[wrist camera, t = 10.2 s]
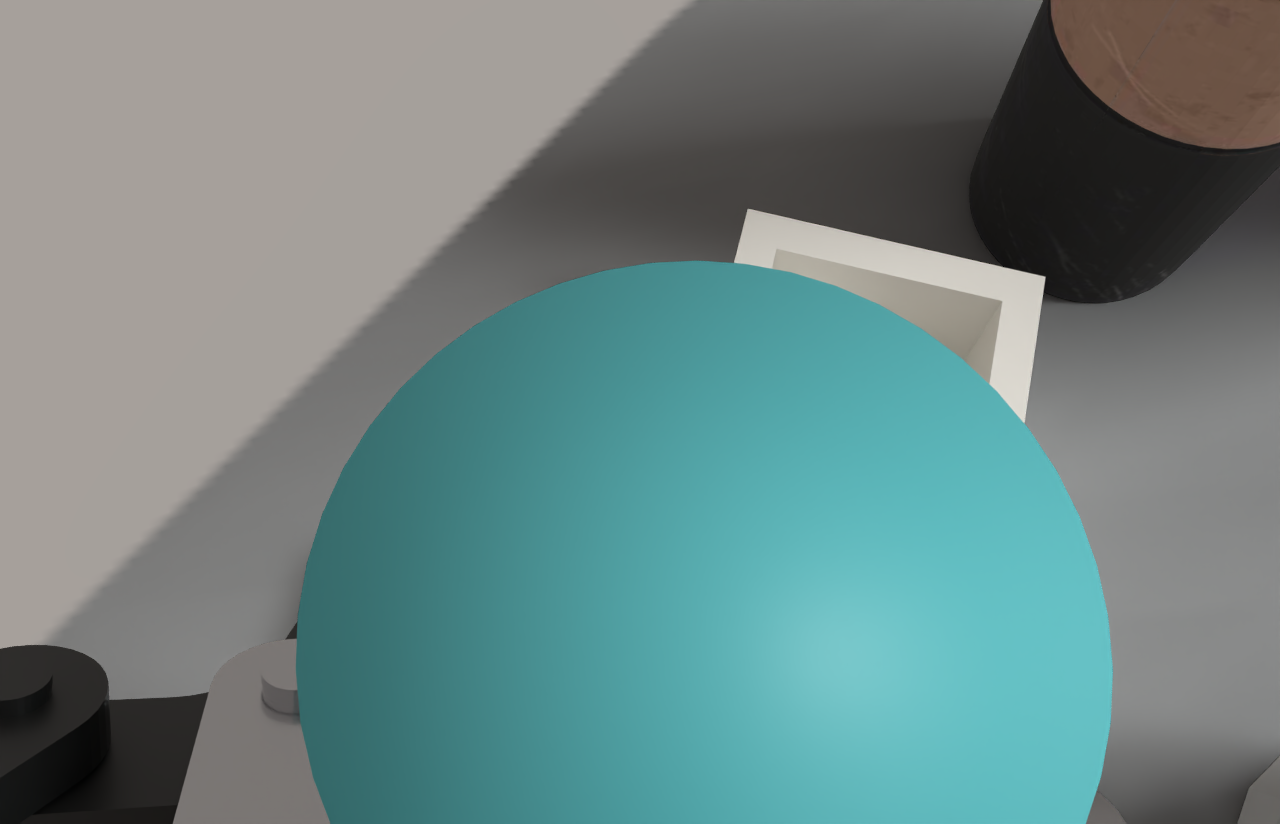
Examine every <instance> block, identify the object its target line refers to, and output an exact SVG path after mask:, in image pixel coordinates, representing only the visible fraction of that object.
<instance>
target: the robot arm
mask: <svg viewBox="0 0 1280 824" xmlns="http://www.w3.org/2000/svg"><path fill="white" fill-rule="evenodd" d="M297 623H298V621H297ZM297 623H296V624H295V626H294V627H293V629H292V630H291V632H290V633H289V635H288V636H287V638H286V639H285V640H279V641H274V642H269V643H265V644H262V645H259V646H256V647H253V648H250V649H248V650H246V651H244V652H242V653H240V654H238V655H236V656H235V657H233V658H232V659H230V660H229V661H228V662H227V663H226V664H225V665H223V666H222V667H221V668H220V670H219V671H218V672H217V674H216V675H215V676H214V679H213V681H212V683H211V686H210V690H209V692H208V693H203V694H197V695H192V696H183V697H170V698H147V699H125V700H109V686H108V679H107V675H106V673H105V671H104V670H103V668H102V667H101V665H99V664H98V663H97V662H96V661H95V660H94V659H92V658H90V657H89V656H87V655H85V654H83V653H80V652H78V651H75V650H72V649H67V648H63V647H57V646H47V645H25V646H14V647H8V648H3V649H0V824H330V821H329V819H328V816H327V813H326V811H325V808H324V805H323V803H322V800H321V797H320V795H319V792H318V790H317V787H316V784H315V782H314V779H313V775H312V771H311V766H310V762H309V758H308V753H307V749H306V745H305V740H304V736H303V732H302V727H301V722H300V711H299V700H298V690H297V679H296V647H297ZM1086 824H1126V822H1125V820H1124V819H1123V817H1122V816H1121V814H1120V813H1119V812H1118V810H1117V809H1116V808H1115V807H1114V806H1113V804H1112V803H1111V802H1110V801H1108V800H1107V799H1106V798H1105V797H1104V796H1103V795H1102V794H1101V793H1099V792H1098V791H1096V794H1095V797H1094V800H1093V803H1092V806H1091V809H1090V812H1089V815H1088V818H1087V821H1086Z"/></svg>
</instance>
